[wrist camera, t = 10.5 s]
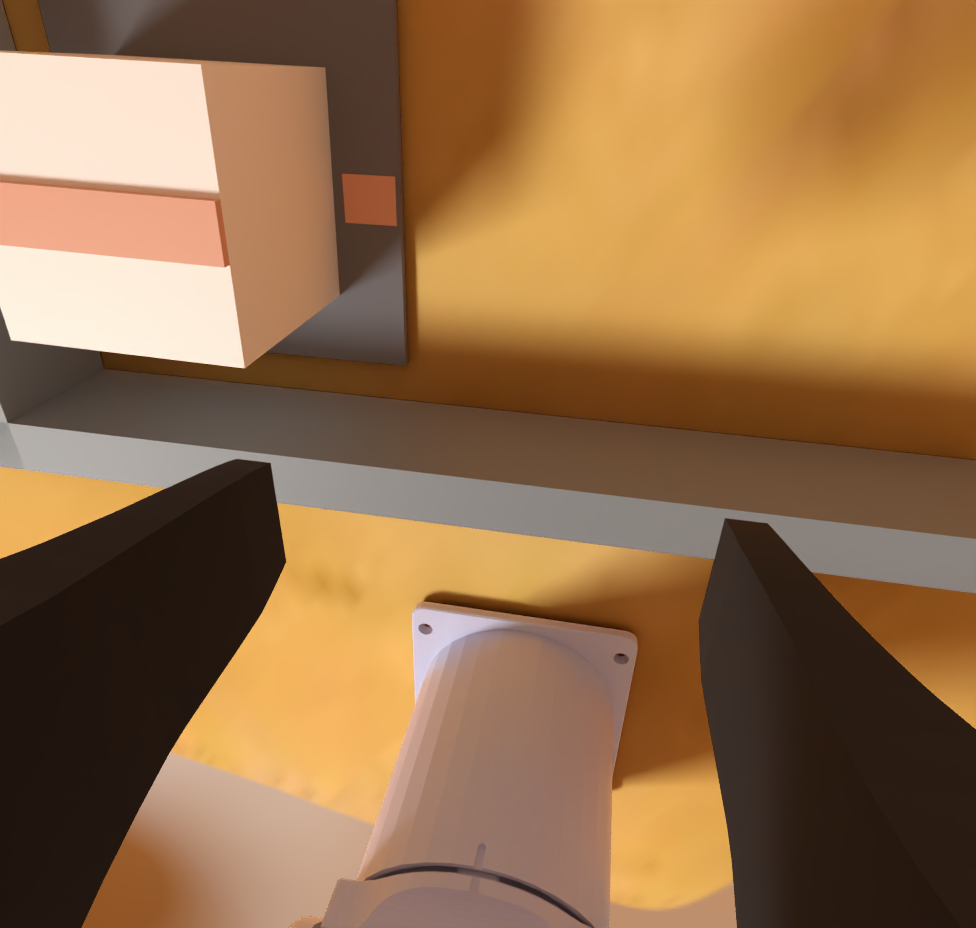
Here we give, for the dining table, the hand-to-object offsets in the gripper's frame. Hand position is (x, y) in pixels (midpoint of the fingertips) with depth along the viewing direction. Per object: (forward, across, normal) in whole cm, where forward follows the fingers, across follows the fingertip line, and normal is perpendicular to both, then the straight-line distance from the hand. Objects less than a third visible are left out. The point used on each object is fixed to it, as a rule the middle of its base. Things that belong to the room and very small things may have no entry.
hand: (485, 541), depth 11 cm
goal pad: (+9, +8, -4) cm, 13 cm away
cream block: (+9, +8, -4) cm, 13 cm away
